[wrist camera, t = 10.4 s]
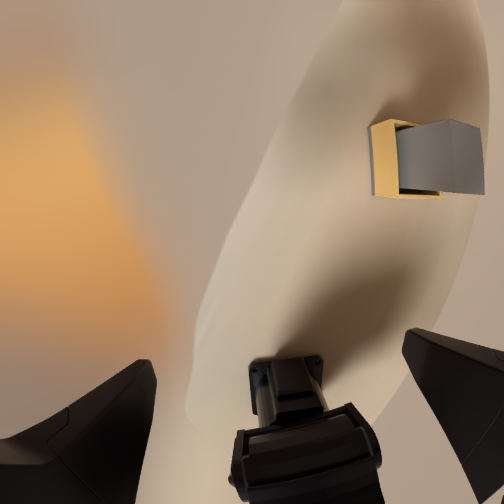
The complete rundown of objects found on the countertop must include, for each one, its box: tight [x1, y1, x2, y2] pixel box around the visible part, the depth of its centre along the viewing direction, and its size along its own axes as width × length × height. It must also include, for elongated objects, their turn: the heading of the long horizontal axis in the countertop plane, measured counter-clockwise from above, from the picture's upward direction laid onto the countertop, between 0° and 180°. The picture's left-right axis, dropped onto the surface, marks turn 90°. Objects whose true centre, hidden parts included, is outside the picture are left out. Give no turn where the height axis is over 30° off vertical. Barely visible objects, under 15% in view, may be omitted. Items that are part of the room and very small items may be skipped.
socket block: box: [368, 119, 443, 199], centre depth 17 cm, size 5×5×4 cm
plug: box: [395, 119, 484, 195], centre depth 14 cm, size 4×3×8 cm
